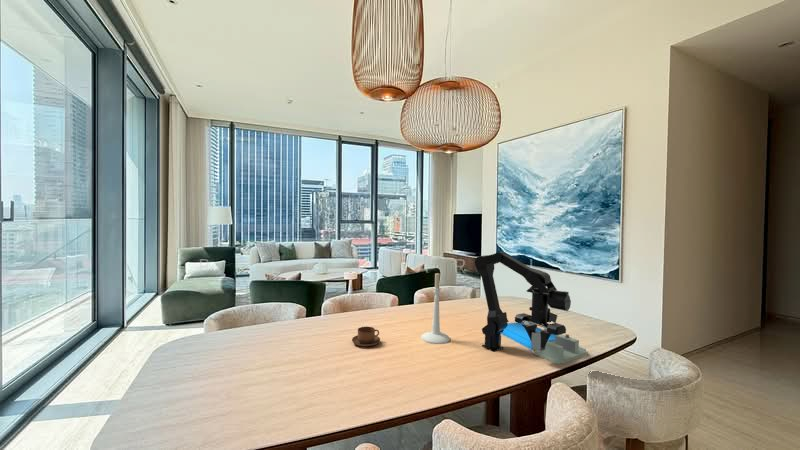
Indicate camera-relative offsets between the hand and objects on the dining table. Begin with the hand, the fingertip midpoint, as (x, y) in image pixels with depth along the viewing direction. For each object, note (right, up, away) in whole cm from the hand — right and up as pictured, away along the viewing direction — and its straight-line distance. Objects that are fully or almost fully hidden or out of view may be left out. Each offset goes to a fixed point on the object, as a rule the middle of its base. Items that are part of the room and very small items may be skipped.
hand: (538, 345), depth 129 cm
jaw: (+16, -5, +11) cm, 20 cm away
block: (0, -1, 0) cm, 1 cm away
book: (+6, -7, +27) cm, 28 cm away
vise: (+13, -7, +9) cm, 17 cm away
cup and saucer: (-68, -5, +16) cm, 70 cm away
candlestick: (-37, -5, +23) cm, 44 cm away
